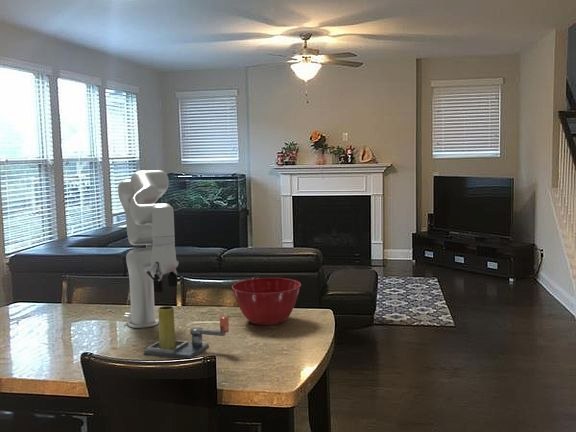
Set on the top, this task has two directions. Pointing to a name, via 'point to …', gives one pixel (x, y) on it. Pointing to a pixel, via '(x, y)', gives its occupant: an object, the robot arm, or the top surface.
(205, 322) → the top surface
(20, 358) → the top surface
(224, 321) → the lever
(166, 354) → the bed
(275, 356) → the top surface
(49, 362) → the top surface
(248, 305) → the mixing bowl
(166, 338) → the vase
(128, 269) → the robot arm
